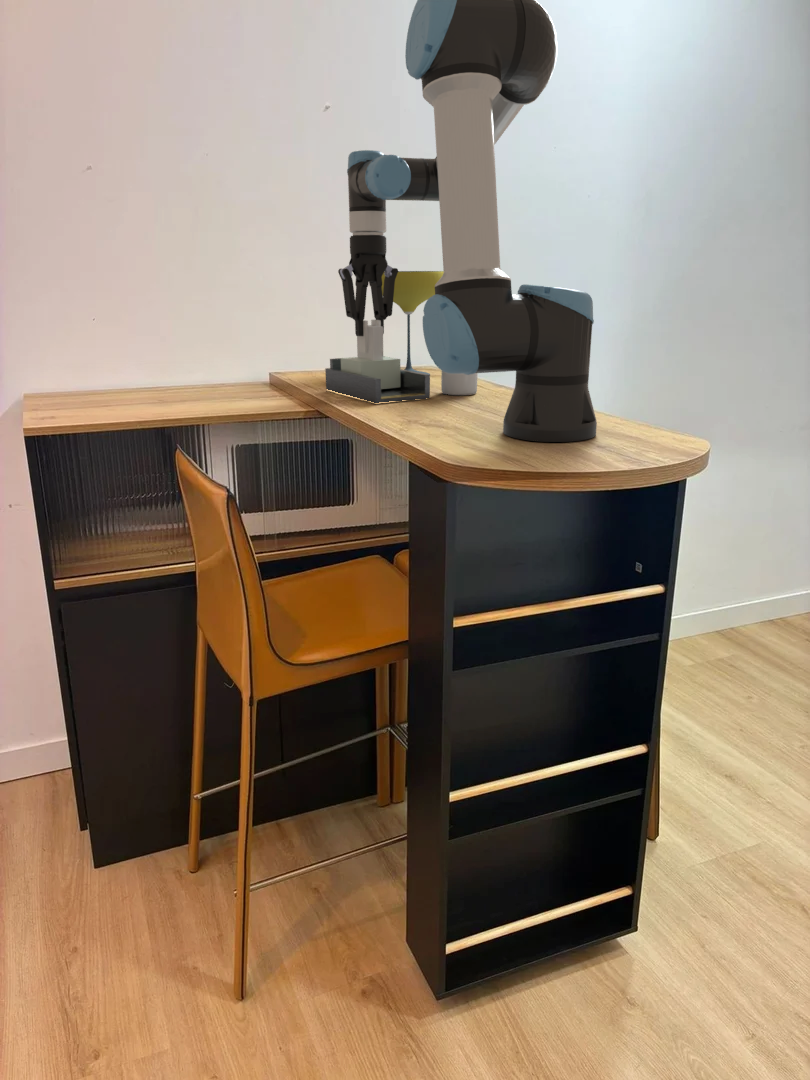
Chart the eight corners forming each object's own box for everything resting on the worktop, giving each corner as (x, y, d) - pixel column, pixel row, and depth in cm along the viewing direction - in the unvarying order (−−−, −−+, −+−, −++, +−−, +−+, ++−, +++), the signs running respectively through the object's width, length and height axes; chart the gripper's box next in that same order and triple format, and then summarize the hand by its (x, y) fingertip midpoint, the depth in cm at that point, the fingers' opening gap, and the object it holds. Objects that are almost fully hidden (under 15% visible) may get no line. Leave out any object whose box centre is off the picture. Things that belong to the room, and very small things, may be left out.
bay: (429, 398, 171) (429, 364, 169) (375, 404, 165) (375, 369, 162) (376, 386, 189) (376, 355, 187) (326, 391, 182) (325, 359, 180)
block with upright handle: (400, 387, 177) (400, 326, 173) (361, 391, 172) (360, 328, 168) (379, 382, 184) (378, 323, 180) (341, 385, 179) (339, 325, 175)
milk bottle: (478, 396, 174) (480, 298, 168) (441, 396, 175) (442, 298, 168) (475, 390, 182) (477, 296, 175) (440, 390, 182) (441, 296, 176)
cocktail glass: (457, 373, 210) (458, 271, 203) (420, 381, 196) (421, 271, 188) (397, 369, 220) (397, 271, 212) (359, 377, 205) (356, 271, 197)
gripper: (390, 235, 175) (391, 348, 183) (325, 234, 167) (329, 352, 175) (409, 234, 169) (409, 350, 177) (343, 233, 161) (346, 355, 169)
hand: (370, 351), depth 176 cm, fingers closed on block with upright handle, 2 cm apart
